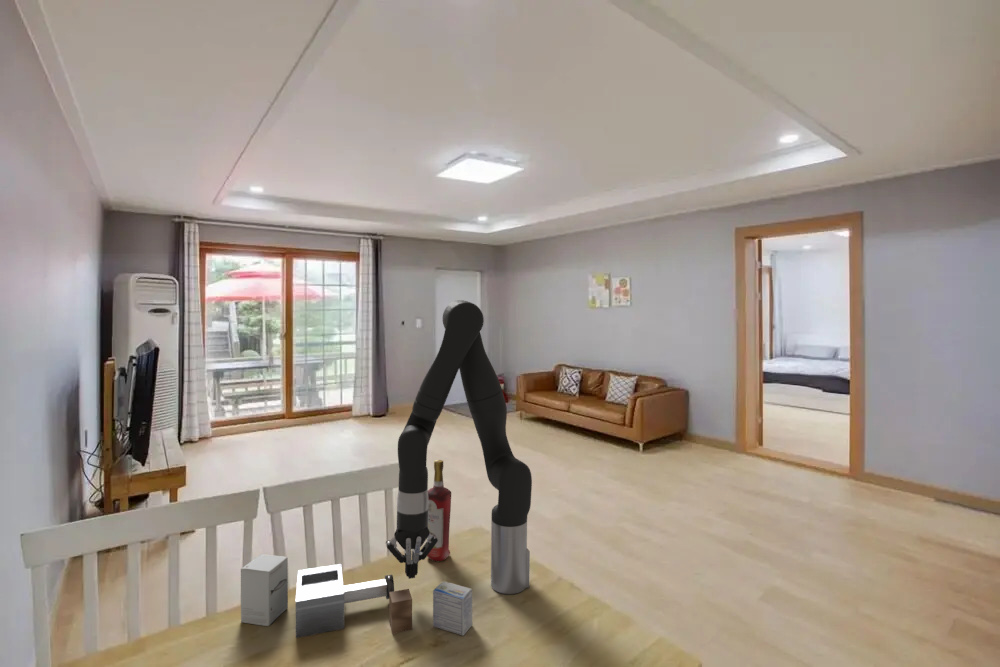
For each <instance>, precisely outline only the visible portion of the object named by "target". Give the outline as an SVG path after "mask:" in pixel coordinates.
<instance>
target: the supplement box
mask: <svg viewBox="0 0 1000 667" xmlns="http://www.w3.org/2000/svg"><path fill="white" fill-rule="evenodd" d="M288 564H289V563H288V556H283V555H282V556H281V555H274V554H273V555H272V554H265V553H264V554H262V553H261V554H259V555H258V556H256V557H255V558H254V559H253V560H251V561H249V562H248V563H247V564H246V565H244V566H242V567H241V568H240V623H245V624H252V625H257V626H264V627H270V625H272V623H273V622H274V621H275V620H277V618H278V617H280V615H282V614H283V613H284V612H285V611H286V610H287V609H288V607H289V604H288V603H289V597H288V596H289V594H288V593H289V584H288V583H289V582H288V581H289V580H288V578H289V575H288V574H289V573H288V570H289V568H288V567H289V566H288Z"/></svg>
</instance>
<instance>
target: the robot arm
mask: <svg viewBox="0 0 1000 667" xmlns="http://www.w3.org/2000/svg"><path fill="white" fill-rule="evenodd" d="M484 321H485V319H484V315H483V312H482V310H481V308H480V307H479V306H478V305H476V304H475V303H473V302H470V301H467V300H462V299H461V300H460V299H459V300H454V301H452V302H450V303H448V304H447V305H446V307H445V309H443V314H442V324H443V327H444V329H445V330H444V334H443V338H442V340H441V343H440V344H441V345H440V347H439V349H438V352H437V353H436V354H437V355H436V357H435V359H434V361H433V362H432V364H431V366H430V367H429V369H428V370H427V372H426V374H425V376H424V378H423V380H422V382H421V385H420V387H419V389H418V392H417V394H416V397H415V398H414V402H413V404H412V411H411V413H410V414H409V417H408V419H407V421H406V424H405V425H404V428H403V431H402V432H401V434H399V437H398V439H397V460H398V468H399V470H398V473H399V474H398V491H397V498H396V529H395V531H394V536H393V537H392V538H391V539H388V540H386V541H385V545H386V548H387V550H388V551H389V552H390V553H391V554H392V555H393V557H395V559H396V560H397V561H398V562H399V563H400V564H403V563H404V566H405V568H404V572H405V575H406V577H407V578H408V579H409V580H410V579H415V578H416V576H417V575H418V574H419V572H418V571H419V569H418V568H419V562H420V561H423V560H425V559H426V558H427V555H428V554H429V553H430V551H431V550H432V548H433V547H434V546H435V544H436V543H437V542H438V539H437V537H436V536H435V534H431V533H430V531H429V529H428V506H429V502H428V490H429V489H428V488H429V487H428V486H429V485H428V484H429V472H428V471H429V470H428V466H427V459H428V458H427V456H428V445H429V443H430V440H431V438H432V435H433V433H434V429H435V427H436V424H437V420H438V418H439V417H440V415H441V413H442V412H443V409H444V406H445V404H446V402H447V400H448V399H447V398H449V394H450V391H451V389H452V387H453V383H454V382H455V379H456V377H457V374H458V372H459V373H460V378H461V383H462V388H463V392H464V395H465V399H466V402H467V406H468V409H469V411H470V415H471V418H472V420H473V424H474V427H475V430H476V433H477V437H478V438H479V441H480V445H481V449H482V453H483V454H482V455H483V459H484V465H485V471H486V474H487V475H486V476H487V478H488V481H489V483H490V484H491V485H492V487H494V488H495V489H496V490H497V491H498V498H497V499H498V500H497V501H498V502H497V504H495V505H494V506H493V507H492V509H491V527H490V528H491V530H490V531H491V533H490V534H491V538H490V540H491V541H490V542H491V545H490V547H491V548H490V587H491V588H492V589H493V590H494V591H495V592H498V593H500V594H503V595H514V594H519V593H522V592H523V591H524V590H526V589H529V588H530V568H531V567H530V565H531V564H530V563H531V562H530V561H531V560H530V557H531V553H530V550H529V549H528V515H529V513H530V510H531V504H532V488H533V478H532V477H533V476H532V471H531V470H530V468H529V466H528V465H527V464H526V463H525V462H524V461H521V459H519V458H516V457H515V455H514V454H513V450H512V449H511V447H510V443H509V440H508V437H507V431H506V430H507V416H508V409H507V404H506V399H505V395H504V392H503V389H502V385H501V382H500V380H499V378H498V376H497V373H496V371H495V369H494V367H493V364H492V363H491V361H490V358H489V357H488V353H487V352H486V349H485V347H484V344H483V338H482V334H481V331H482V328H483V327H484ZM397 543H398V544H399V545H400V547H401V548H402V549H403V552H404V554H403V553H402V552H401V551H400V550H399V549H398V548H397V547H398V544H397Z"/></svg>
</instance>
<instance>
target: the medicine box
mask: <svg viewBox="0 0 1000 667" xmlns="http://www.w3.org/2000/svg"><path fill="white" fill-rule="evenodd" d="M432 614H433V615H432V626H433V627H434V628H438V629H441V630H443V631H447V632H449V633H450V632H451V633H453V634H457V635H460V636H465V634H466V633H468V630H470V628H471V627H472V625H473V589H472V588H470V587H466V586H463V585H459V584H455V583H452V582H447V581H444V580H443V581H441V583H439V584H438V585H437V586H436V587H435V588H434V589H433V590H432Z"/></svg>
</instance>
